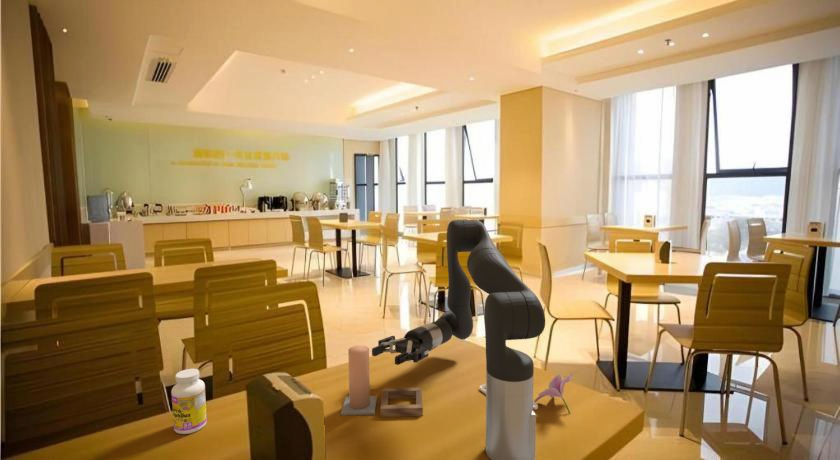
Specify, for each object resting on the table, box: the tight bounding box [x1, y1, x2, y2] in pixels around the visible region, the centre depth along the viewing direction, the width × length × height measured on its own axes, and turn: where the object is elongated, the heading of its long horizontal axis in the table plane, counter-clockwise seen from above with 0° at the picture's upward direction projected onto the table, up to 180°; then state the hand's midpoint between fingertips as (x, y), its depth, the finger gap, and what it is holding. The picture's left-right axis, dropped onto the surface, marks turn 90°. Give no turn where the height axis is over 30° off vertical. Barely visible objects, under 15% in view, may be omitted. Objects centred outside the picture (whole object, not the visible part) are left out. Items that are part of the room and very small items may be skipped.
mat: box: [340, 395, 378, 416], centre depth 104 cm, size 8×8×1 cm
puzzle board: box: [379, 387, 424, 418], centre depth 104 cm, size 10×10×2 cm
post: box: [347, 345, 371, 409], centre depth 103 cm, size 5×5×14 cm
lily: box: [533, 372, 577, 415], centre depth 102 cm, size 12×12×10 cm
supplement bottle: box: [170, 368, 208, 435], centre depth 95 cm, size 7×7×13 cm
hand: (384, 356), depth 110 cm, fingers open, 8 cm apart
